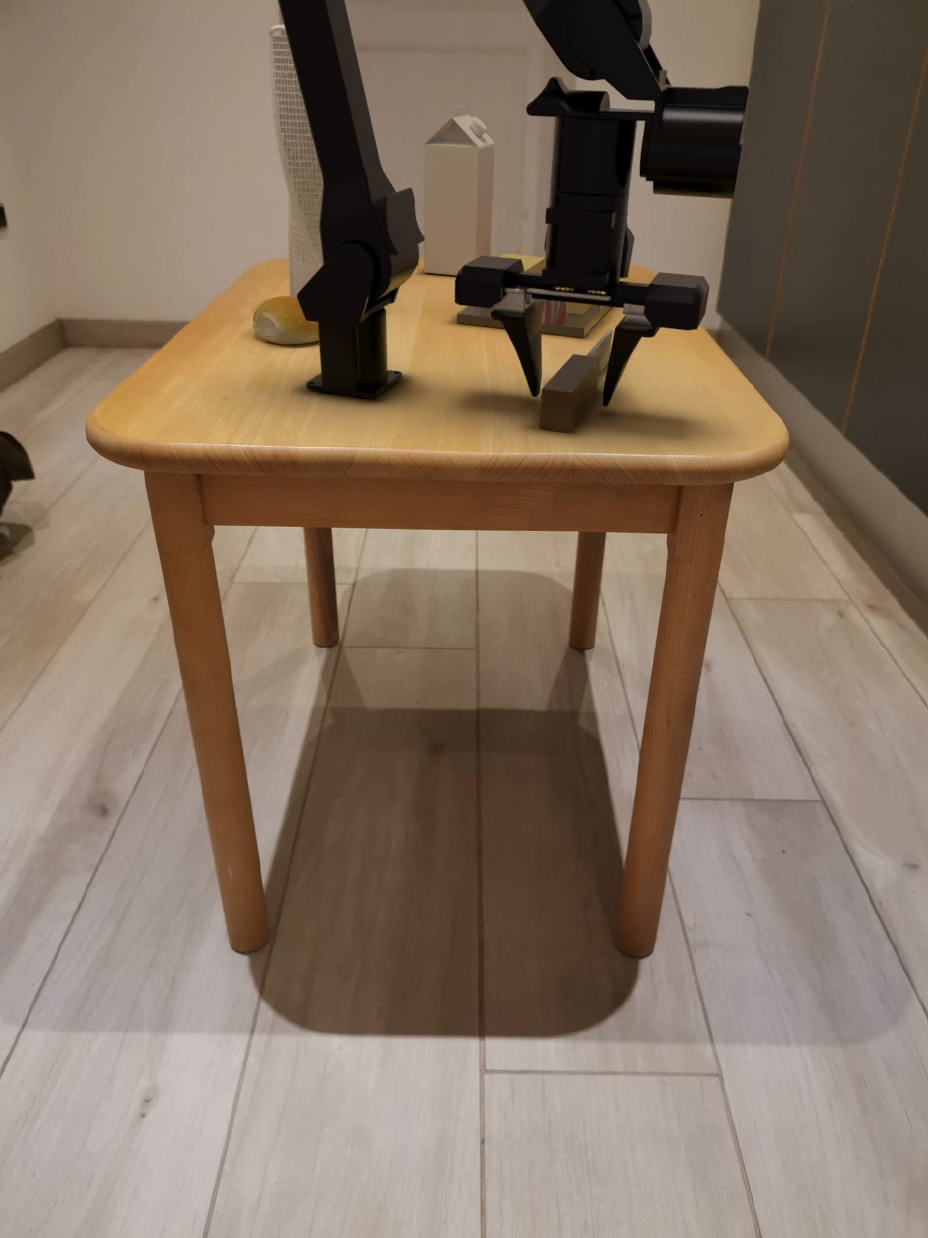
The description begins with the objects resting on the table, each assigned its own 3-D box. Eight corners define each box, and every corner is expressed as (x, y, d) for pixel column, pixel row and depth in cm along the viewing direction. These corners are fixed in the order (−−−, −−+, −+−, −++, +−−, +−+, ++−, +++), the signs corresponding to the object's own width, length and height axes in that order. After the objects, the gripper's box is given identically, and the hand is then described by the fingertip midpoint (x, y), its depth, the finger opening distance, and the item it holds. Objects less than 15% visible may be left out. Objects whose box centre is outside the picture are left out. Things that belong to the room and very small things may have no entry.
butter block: (523, 308, 97) (525, 270, 95) (480, 304, 98) (481, 266, 96) (542, 293, 103) (545, 257, 101) (502, 289, 105) (503, 253, 103)
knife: (568, 432, 69) (572, 392, 67) (538, 428, 69) (541, 388, 68) (619, 362, 84) (623, 328, 83) (595, 359, 85) (598, 325, 83)
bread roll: (360, 334, 91) (358, 293, 89) (289, 351, 85) (285, 308, 83) (309, 318, 95) (307, 279, 93) (239, 333, 90) (235, 292, 88)
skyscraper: (370, 302, 102) (360, 7, 87) (345, 319, 95) (329, 3, 80) (302, 296, 104) (280, 5, 88) (273, 312, 97) (244, 2, 82)
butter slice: (583, 315, 95) (587, 276, 93) (565, 313, 96) (568, 274, 94) (599, 299, 102) (602, 262, 99) (582, 297, 102) (585, 260, 100)
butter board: (583, 337, 91) (584, 328, 91) (456, 323, 95) (456, 313, 95) (614, 303, 104) (615, 294, 104) (501, 291, 108) (501, 283, 107)
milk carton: (423, 273, 115) (423, 105, 105) (440, 263, 121) (441, 103, 111) (475, 278, 114) (480, 108, 104) (490, 267, 120) (496, 105, 109)
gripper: (732, 186, 68) (698, 386, 76) (500, 170, 73) (493, 359, 81) (716, 205, 59) (679, 429, 67) (453, 186, 64) (450, 396, 72)
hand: (570, 400), depth 72 cm, fingers open, 5 cm apart
